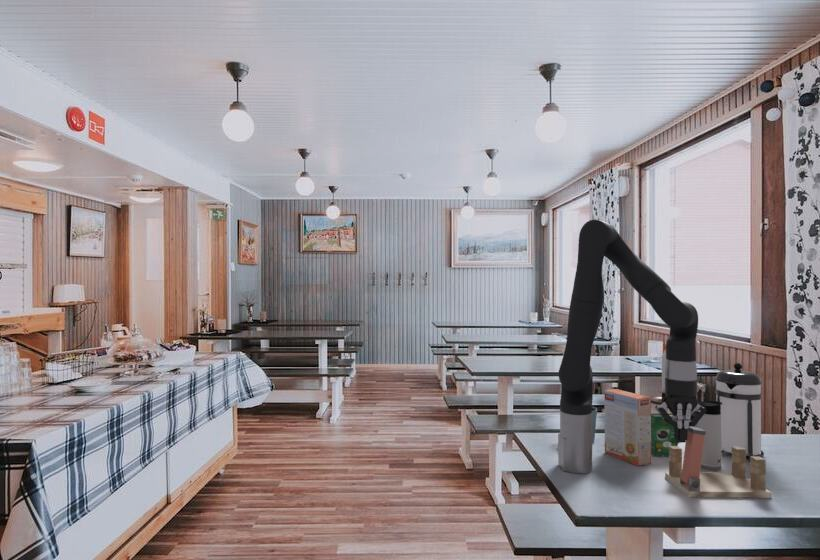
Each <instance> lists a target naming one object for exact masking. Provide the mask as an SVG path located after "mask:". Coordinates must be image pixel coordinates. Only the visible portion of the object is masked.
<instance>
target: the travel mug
mask: <svg viewBox="0 0 820 560" xmlns="http://www.w3.org/2000/svg"><path fill="white" fill-rule="evenodd" d="M698 404H699V405H701V406H702V407H704V408H706V409H707V411H706V413H705V414H704V415H703V416H702V418H701V419H700V420H699V421H698V423H697V424H696V427H697V428H700V429H702V430H704V431H706V434H705V437H704V445H703V453H702V461H701V469H703V470H706V469H707V470H708V471H712V472H713V471H715V472H716V471H721V470H722V468H723V467H722V453H721V405H722V403H721V402H720V401H717V400H703V401H698ZM707 470H706V471H707Z"/></svg>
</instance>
